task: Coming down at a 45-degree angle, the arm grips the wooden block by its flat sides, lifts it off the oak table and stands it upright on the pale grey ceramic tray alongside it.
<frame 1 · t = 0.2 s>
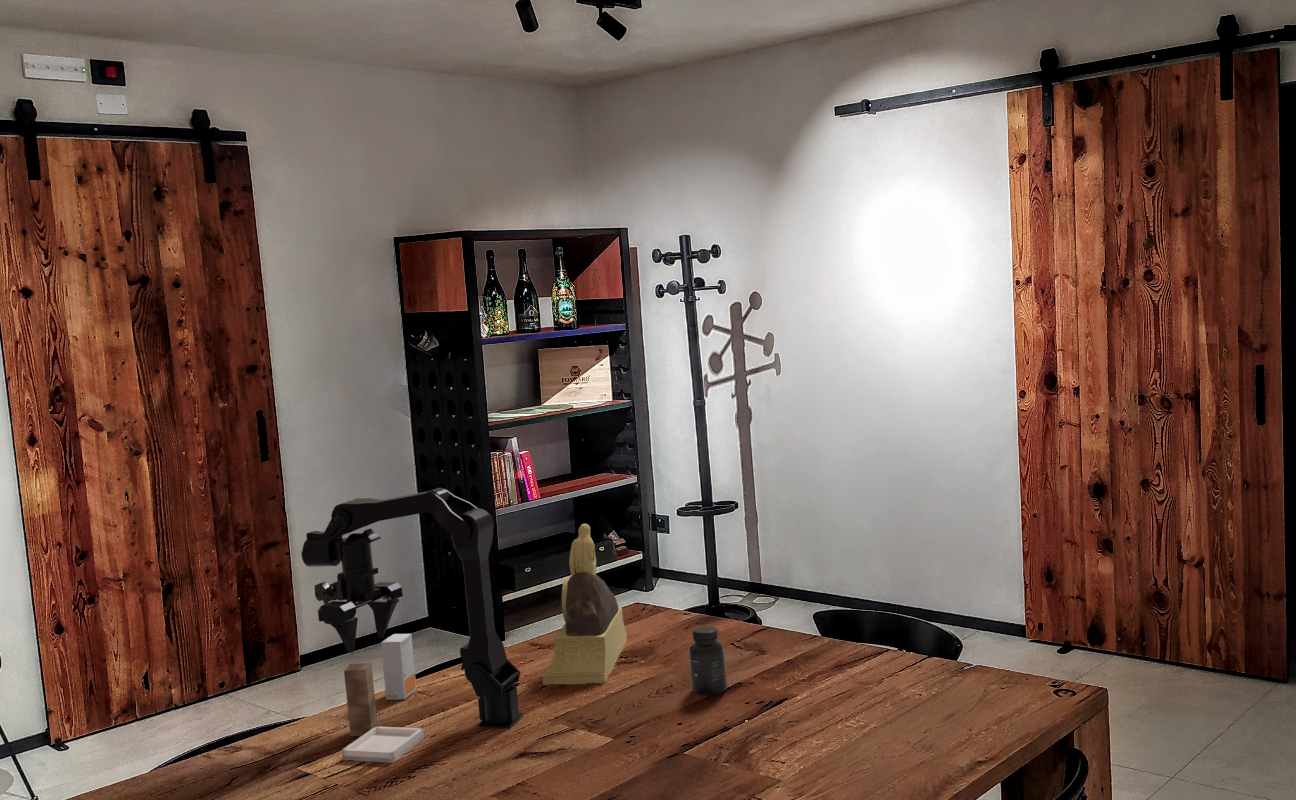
hand: (366, 645, 210), 14 cm above the table, tool pointing down, fingers open, 9 cm apart
tray: (384, 748, 194), on the table
wooden block: (364, 732, 203), on the table
supplement bottle: (709, 691, 211), on the table
skincare box: (401, 696, 223), on the table
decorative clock: (587, 663, 235), on the table
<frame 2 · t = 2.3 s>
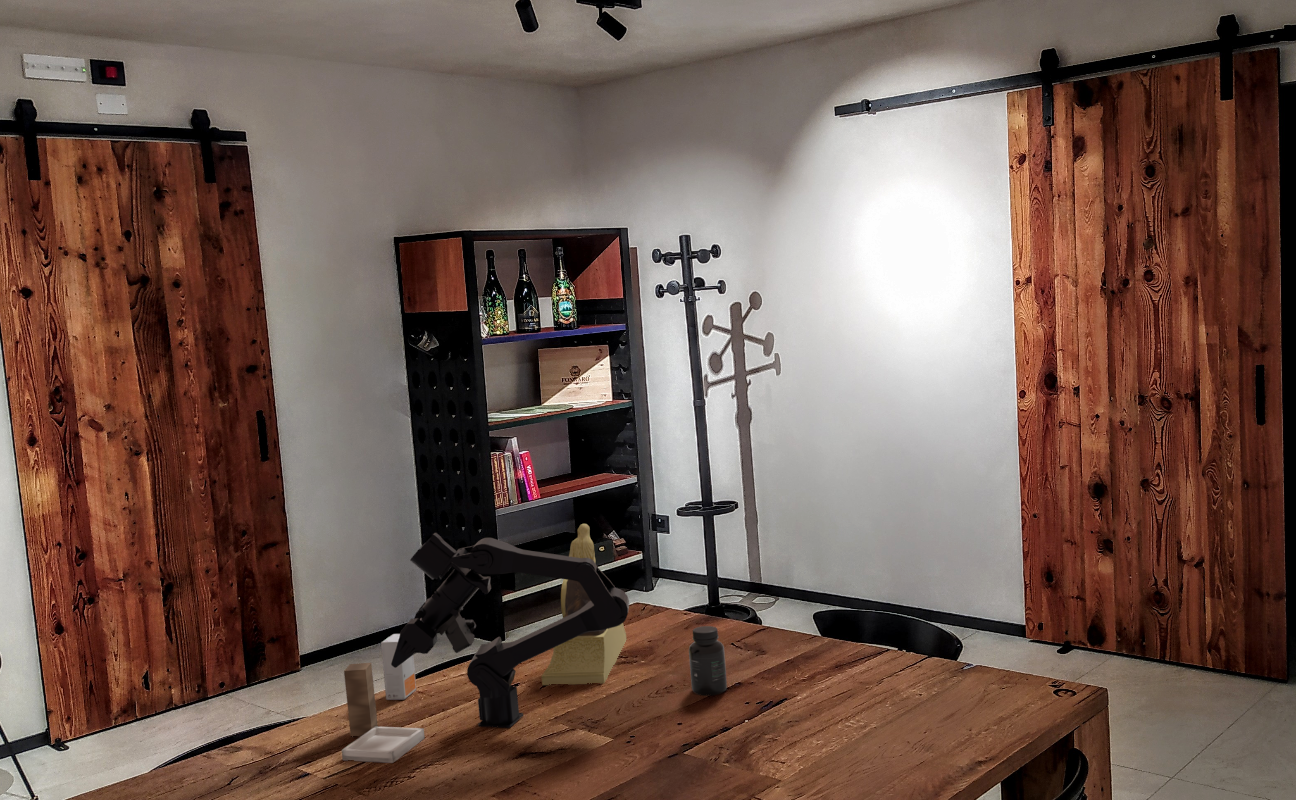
hand: (399, 658, 202), 13 cm above the table, tool tilted 45°, fingers open, 9 cm apart
nothing on the table moved.
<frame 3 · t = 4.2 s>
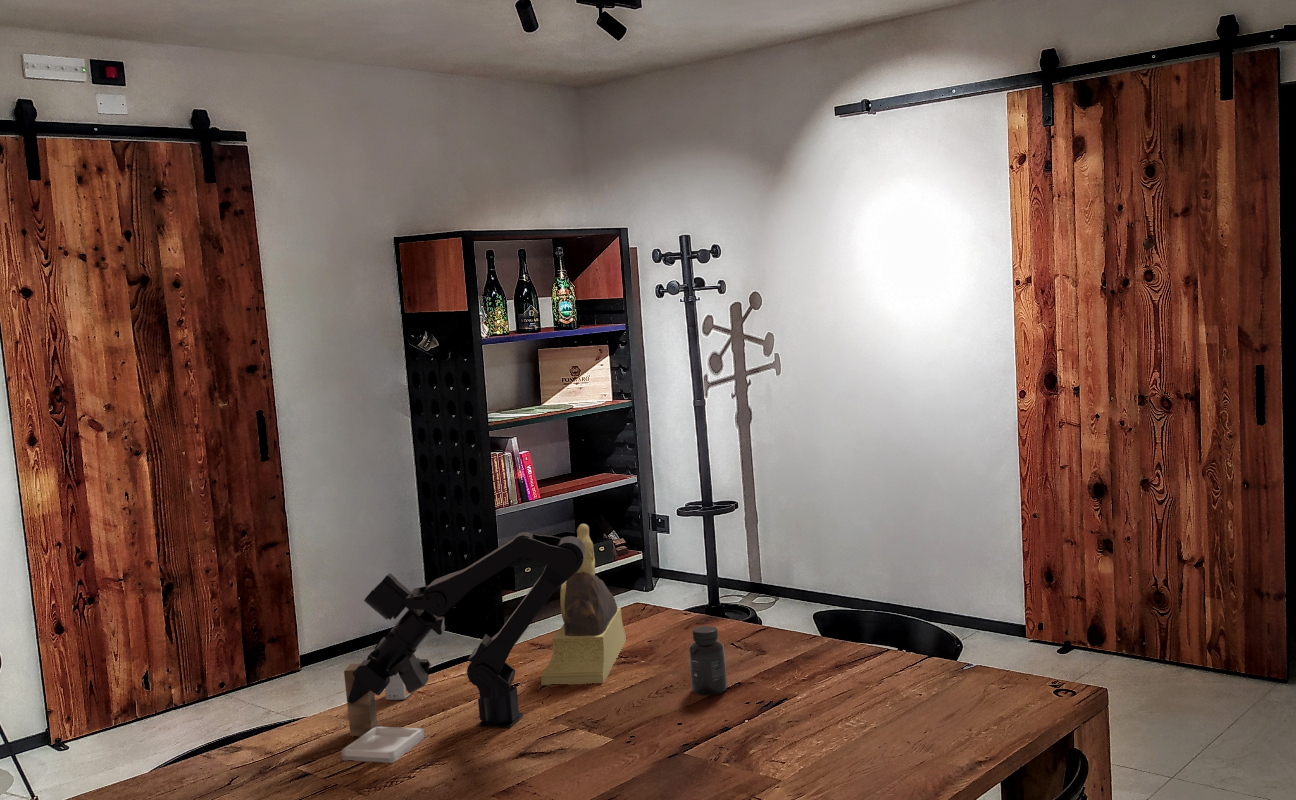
hand: (353, 698, 203), 7 cm above the table, tool tilted 45°, fingers closed on wooden block, 4 cm apart
wooden block: (364, 732, 203), on the table, touching gripper
everything else where it was.
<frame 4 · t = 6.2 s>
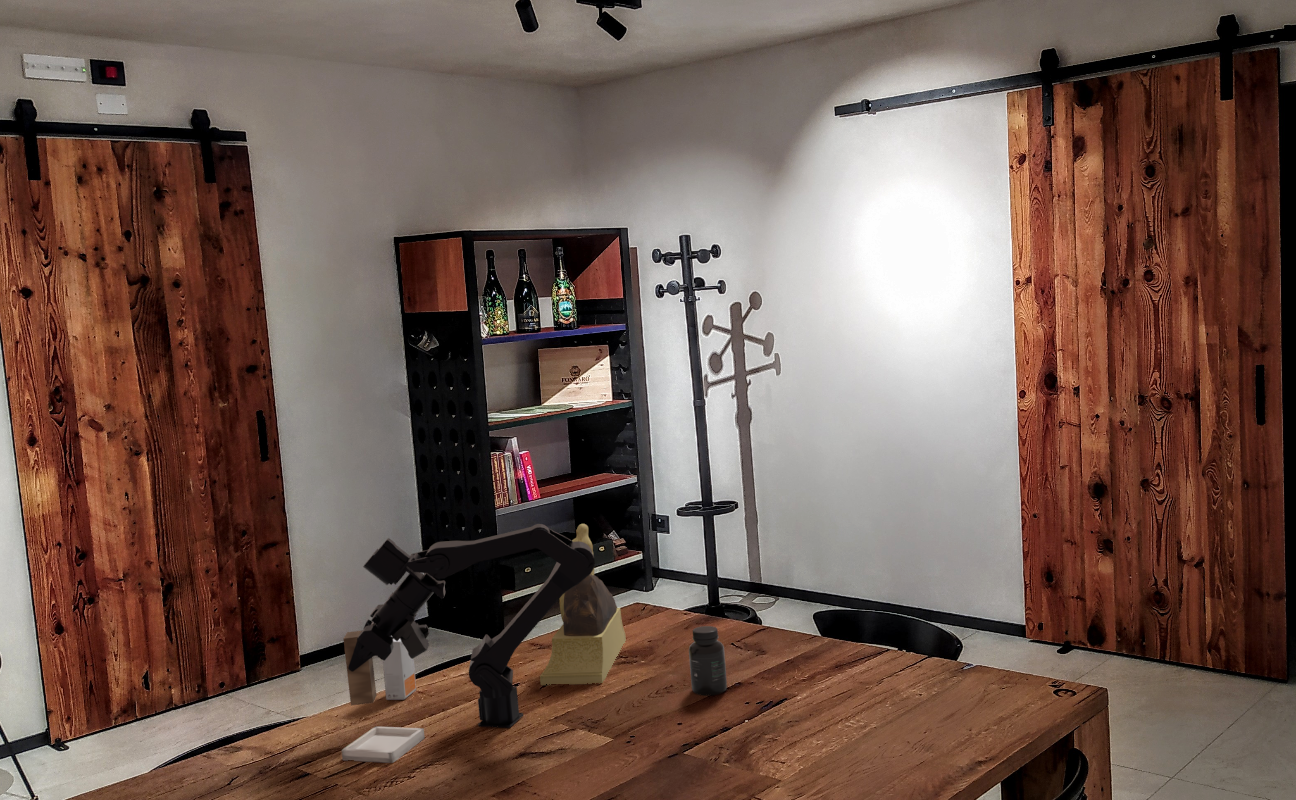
hand: (352, 666, 199), 13 cm above the table, tool tilted 45°, fingers closed on wooden block, 4 cm apart
wooden block: (363, 700, 200), point 7 cm above the table, touching gripper
everything else where it was.
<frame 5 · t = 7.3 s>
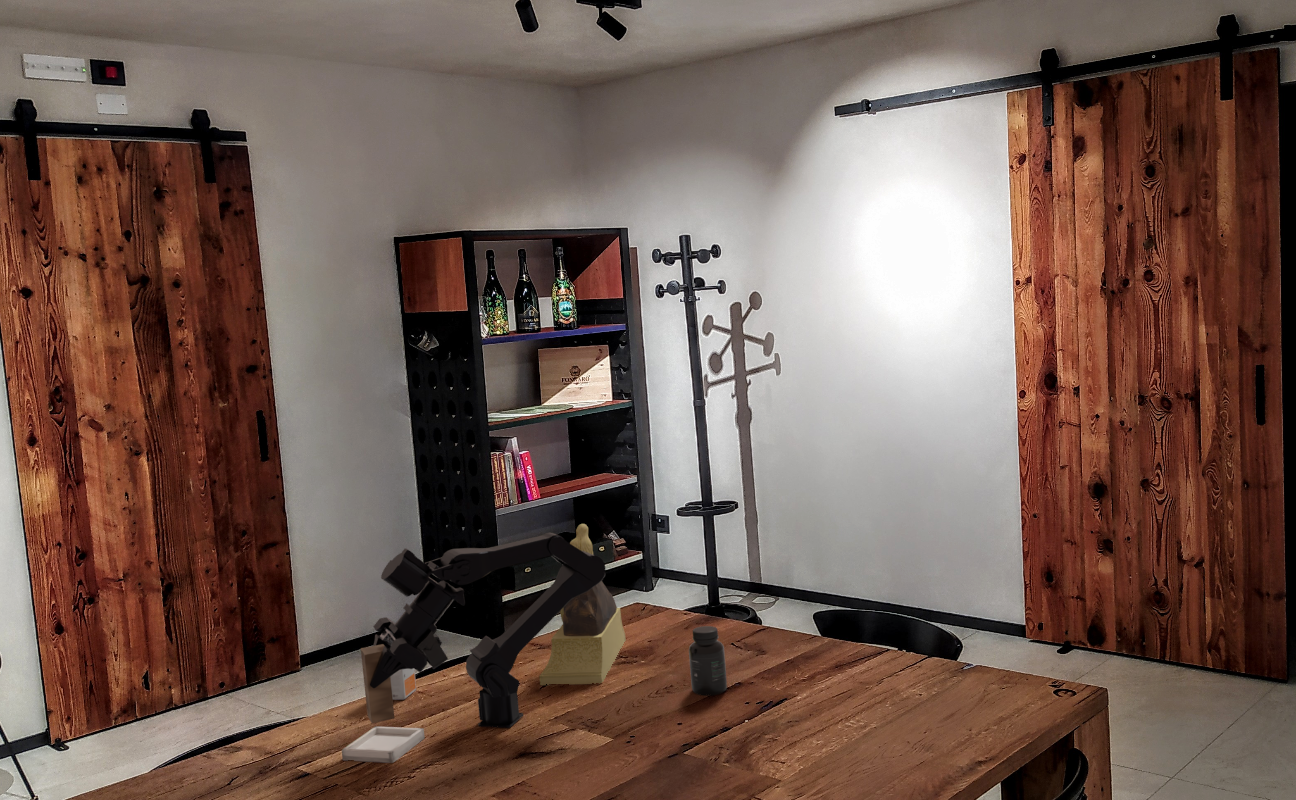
hand: (369, 683, 193), 12 cm above the table, tool tilted 45°, fingers closed on wooden block, 4 cm apart
wooden block: (381, 717, 194), point 6 cm above the table, touching gripper
everything else where it was.
when the fingers open (9 cm above the table, at t = 8.3 s): wooden block drops 1 cm, resting on tray.
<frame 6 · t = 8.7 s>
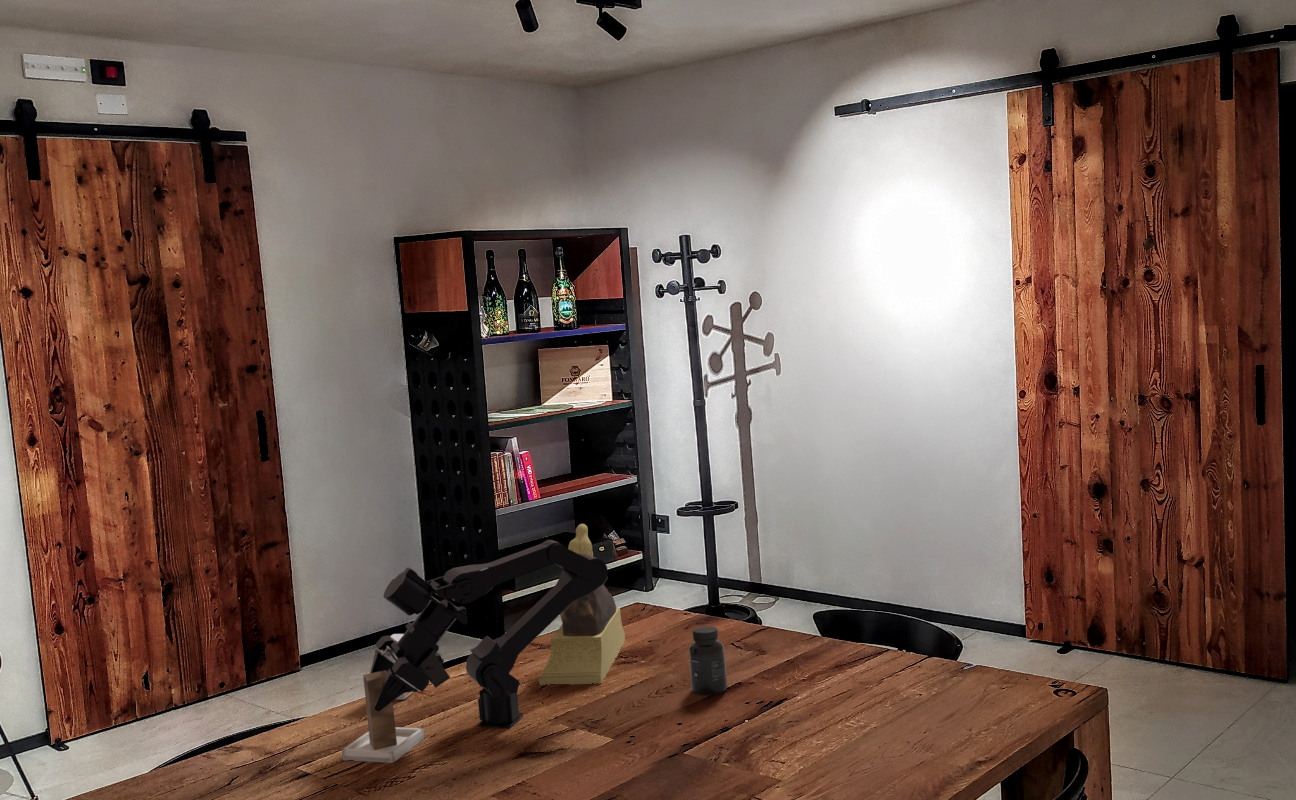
hand: (371, 702, 193), 9 cm above the table, tool tilted 45°, fingers open, 8 cm apart
wooden block: (383, 743, 194), point 1 cm above the table, touching tray
everything else where it was.
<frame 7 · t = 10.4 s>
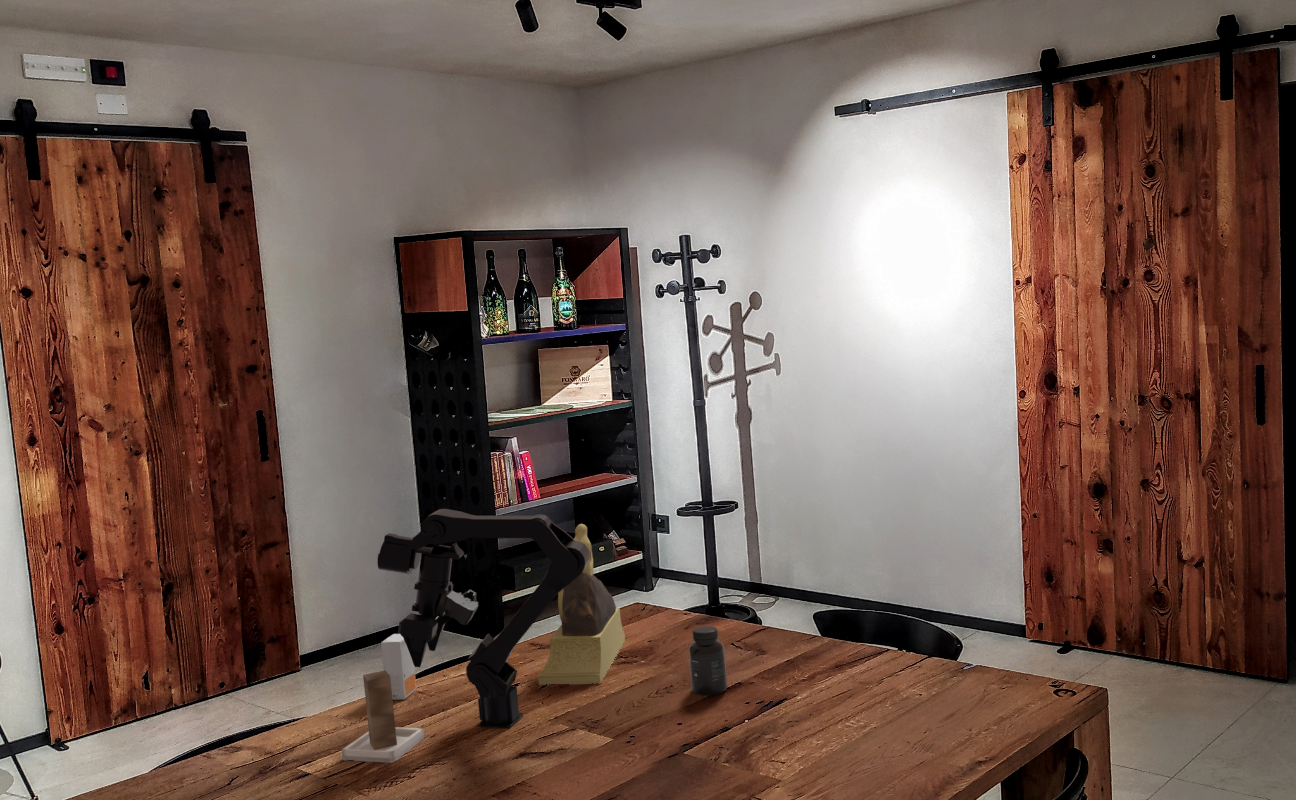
hand: (424, 658, 204), 13 cm above the table, tool pointing down, fingers open, 9 cm apart
nothing on the table moved.
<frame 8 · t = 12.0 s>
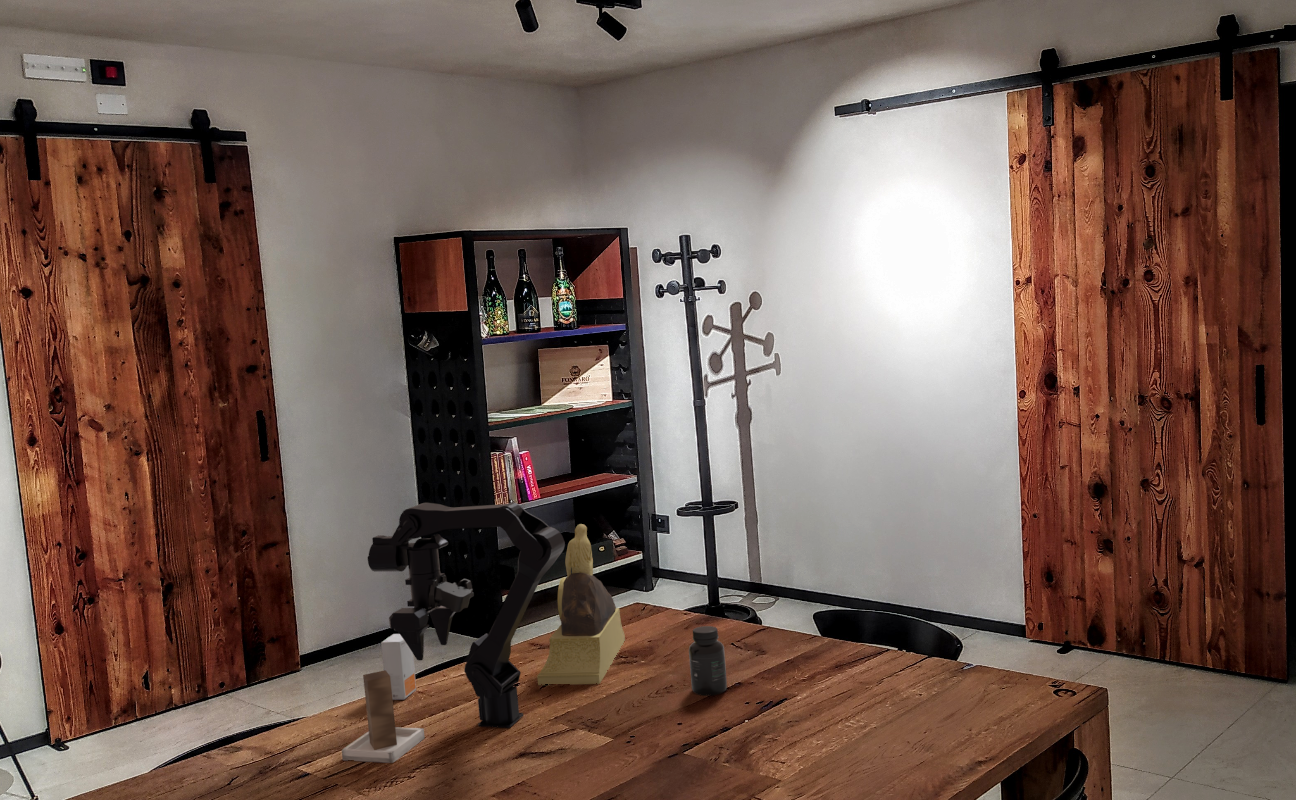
hand: (432, 652, 206), 13 cm above the table, tool pointing down, fingers open, 9 cm apart
nothing on the table moved.
at the end: wooden block inside the target area on the tray (0.4 cm from its centre), point 0.8 cm above the tray's base; wooden block tilted 0°; the gripper is holding nothing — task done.
